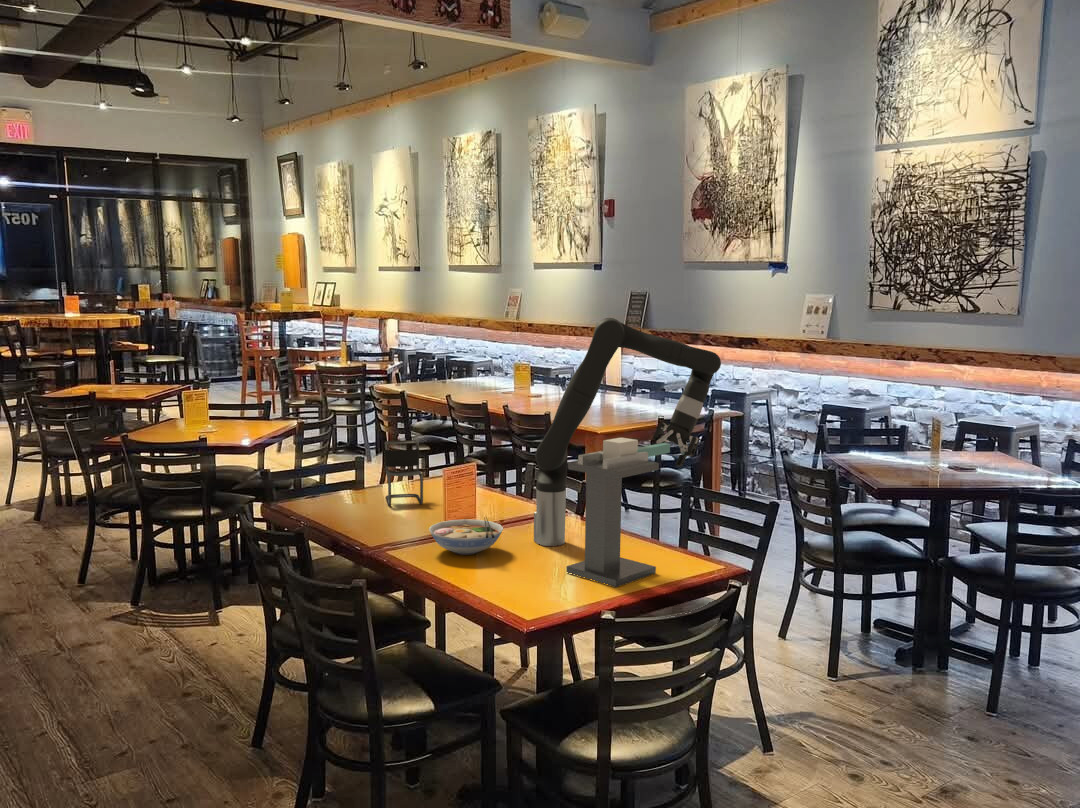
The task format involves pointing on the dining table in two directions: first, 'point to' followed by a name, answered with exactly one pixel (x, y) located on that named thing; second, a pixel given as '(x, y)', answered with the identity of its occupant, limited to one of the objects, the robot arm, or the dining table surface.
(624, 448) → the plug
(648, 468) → the stand
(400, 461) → the chair
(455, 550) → the ramen bowl
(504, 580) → the dining table surface
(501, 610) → the dining table surface
